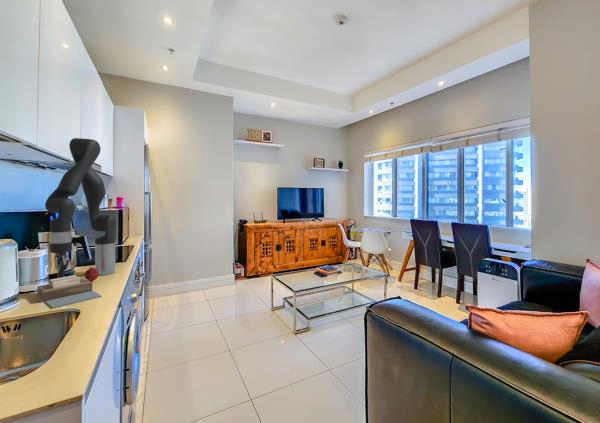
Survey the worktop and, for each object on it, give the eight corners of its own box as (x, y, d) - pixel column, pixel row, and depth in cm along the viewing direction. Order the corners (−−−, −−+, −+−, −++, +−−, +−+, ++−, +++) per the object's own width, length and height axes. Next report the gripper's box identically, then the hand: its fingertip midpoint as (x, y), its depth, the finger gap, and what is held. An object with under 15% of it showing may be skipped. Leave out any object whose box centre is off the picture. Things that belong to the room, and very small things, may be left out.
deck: (37, 295, 115) (37, 286, 115) (83, 286, 128) (83, 277, 128) (45, 302, 108) (44, 292, 108) (92, 291, 121) (92, 282, 121)
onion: (101, 280, 138) (101, 265, 137) (92, 283, 132) (92, 267, 132) (91, 279, 138) (91, 264, 138) (81, 283, 133) (81, 267, 132)
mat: (45, 302, 108) (45, 301, 108) (92, 291, 121) (92, 290, 121) (52, 308, 102) (52, 307, 102) (101, 296, 116) (101, 295, 115)
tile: (49, 285, 117) (49, 279, 117) (75, 280, 124) (75, 275, 124) (53, 288, 113) (53, 282, 113) (79, 283, 121) (79, 277, 121)
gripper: (75, 242, 120) (76, 279, 120) (67, 239, 127) (67, 274, 128) (53, 244, 113) (54, 283, 114) (45, 240, 121) (46, 278, 122)
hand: (61, 278), depth 121 cm, fingers closed
